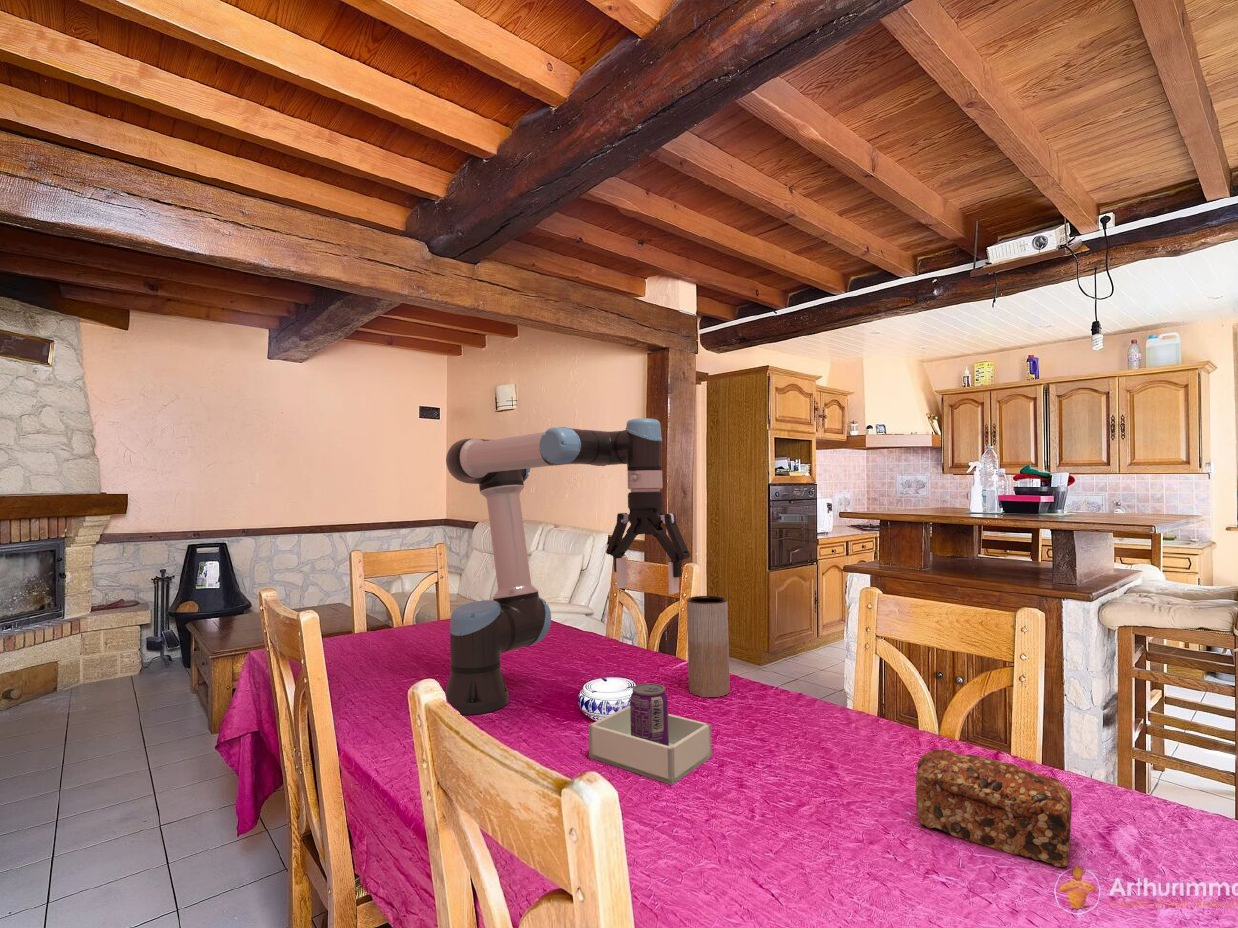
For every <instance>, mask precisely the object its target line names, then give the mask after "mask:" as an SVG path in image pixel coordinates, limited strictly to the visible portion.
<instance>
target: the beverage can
mask: <svg viewBox="0 0 1238 928" xmlns="http://www.w3.org/2000/svg"><path fill="white" fill-rule="evenodd" d="M668 699H669V698H668V696H667V693H666V687H665V686H664V685H662V684H658V683H649V682H647V683H639V684H636V685H634V686H633V687H632V693H631V696H630V699H629V700H630V701H629V702H630V703H629V704H630V705H629V706H630V716H631V736H635V737H638V738H642V739H645V740H649V741H652V742H656V743H659V744H663V745H666V746H669V734H668V714H669V701H668Z"/></svg>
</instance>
